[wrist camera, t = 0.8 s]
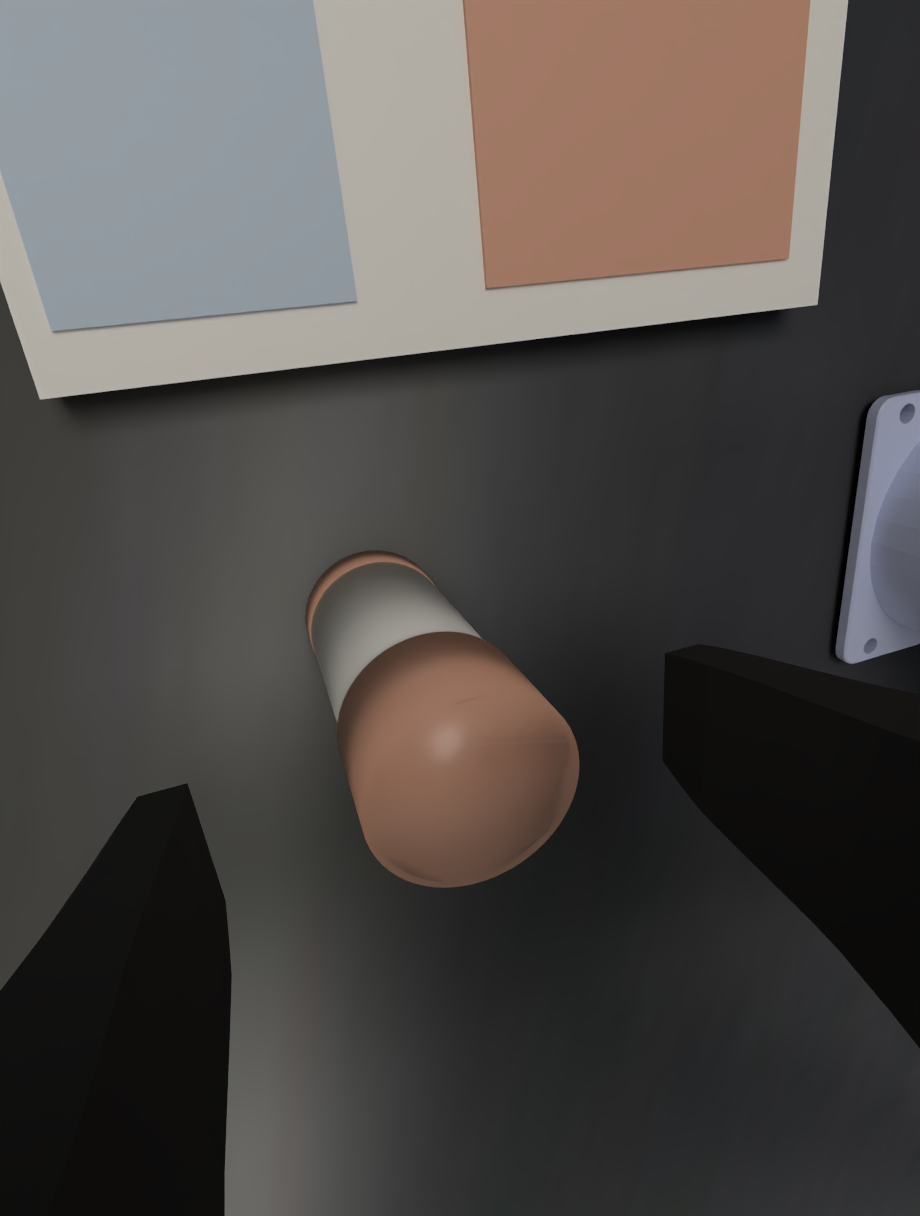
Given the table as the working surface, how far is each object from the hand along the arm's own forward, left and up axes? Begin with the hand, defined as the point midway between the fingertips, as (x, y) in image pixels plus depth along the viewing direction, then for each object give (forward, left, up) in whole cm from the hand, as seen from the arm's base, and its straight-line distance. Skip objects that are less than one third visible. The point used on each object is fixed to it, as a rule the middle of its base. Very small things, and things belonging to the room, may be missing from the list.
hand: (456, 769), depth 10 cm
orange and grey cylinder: (0, 0, -6) cm, 6 cm away
